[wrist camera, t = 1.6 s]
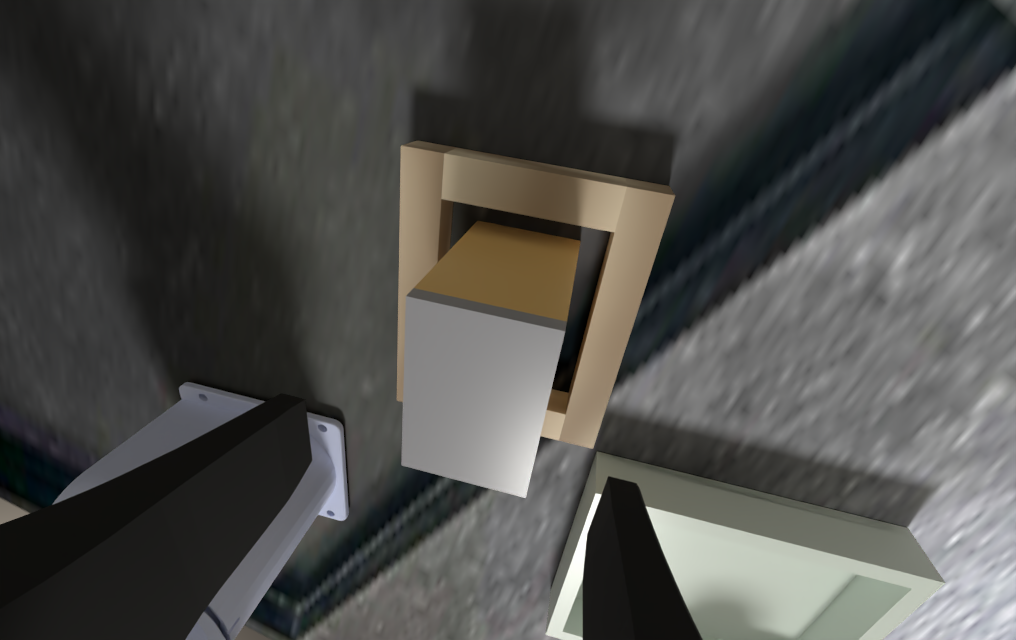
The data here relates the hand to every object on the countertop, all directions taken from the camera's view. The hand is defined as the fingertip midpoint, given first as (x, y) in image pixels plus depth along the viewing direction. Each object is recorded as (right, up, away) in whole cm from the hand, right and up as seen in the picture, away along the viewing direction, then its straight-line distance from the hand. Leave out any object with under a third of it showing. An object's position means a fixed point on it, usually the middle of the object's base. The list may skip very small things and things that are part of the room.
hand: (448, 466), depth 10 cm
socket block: (+2, +4, +8) cm, 9 cm away
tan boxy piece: (+2, +4, +8) cm, 9 cm away
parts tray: (+12, -10, +13) cm, 20 cm away
